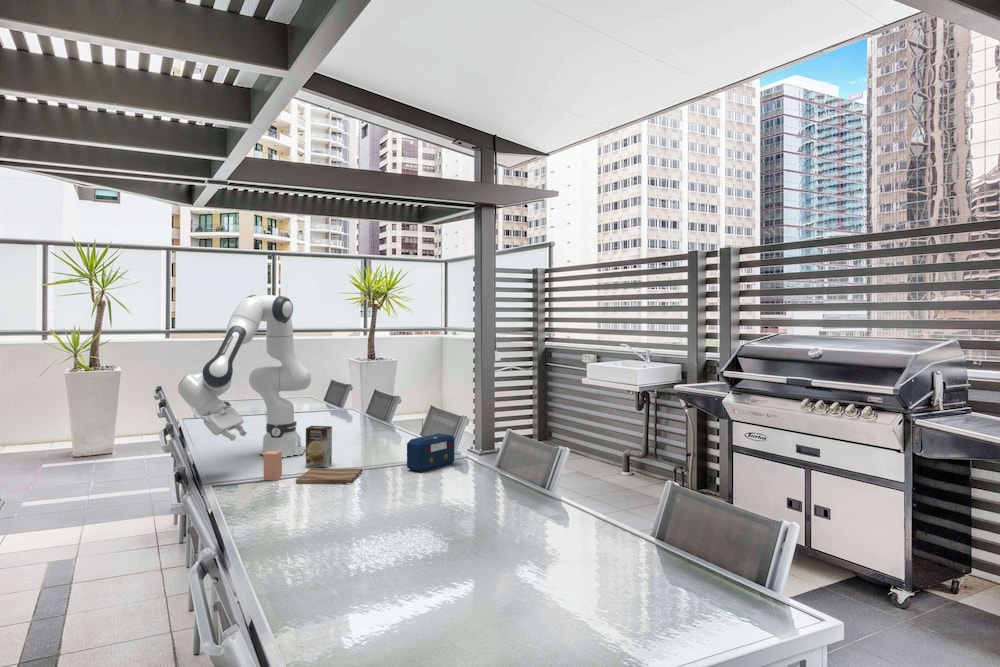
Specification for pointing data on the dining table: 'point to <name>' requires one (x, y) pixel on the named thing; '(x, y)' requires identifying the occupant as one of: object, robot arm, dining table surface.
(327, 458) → the coffee box
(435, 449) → the radio
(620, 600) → the dining table surface
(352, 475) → the walnut board
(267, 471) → the terracotta block
